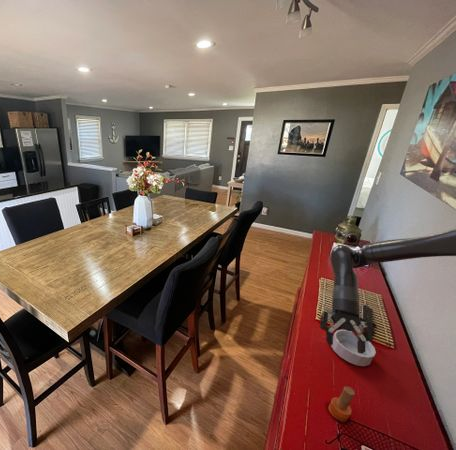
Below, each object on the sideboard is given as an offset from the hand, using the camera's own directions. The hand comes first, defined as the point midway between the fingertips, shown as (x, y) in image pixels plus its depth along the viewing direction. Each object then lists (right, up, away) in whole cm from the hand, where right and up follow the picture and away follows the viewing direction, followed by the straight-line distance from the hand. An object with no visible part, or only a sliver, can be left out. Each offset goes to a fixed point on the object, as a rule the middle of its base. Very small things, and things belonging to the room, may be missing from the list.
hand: (345, 348), depth 80 cm
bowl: (+17, -11, +19) cm, 27 cm away
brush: (-4, -19, -3) cm, 20 cm away
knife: (+39, -5, +36) cm, 53 cm away
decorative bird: (+22, -6, +31) cm, 39 cm away
